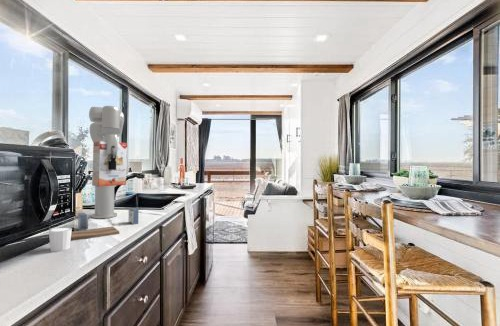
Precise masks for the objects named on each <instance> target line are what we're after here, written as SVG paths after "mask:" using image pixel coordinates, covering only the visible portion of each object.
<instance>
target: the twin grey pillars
mask: <svg viewBox="0 0 500 326" xmlns="http://www.w3.org/2000/svg"><path fill="white" fill-rule="evenodd" d="M77 216H78V219H77V221H78V222H77V223H78V227H77V228H78V231H81V230H89V215H88V214H87V213H86V212H79V213H78V215H77ZM128 222H129V223H130V224H132V225H138V224H139V209H137V208H135V207H131V208H129V209H128Z"/></svg>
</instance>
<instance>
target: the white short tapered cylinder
mask: <svg viewBox="0 0 500 326" xmlns="http://www.w3.org/2000/svg"><path fill="white" fill-rule="evenodd" d="M72 230H73V228H71V227H57V228H52V229H49V230H48V238H49V239H48V240H49V247H50V251H51V252H52V253H53V252H55V253H56V252H57V253H58V252H63V251H68V250H69V249H70V247H71V241H70V240H71V232H73V231H72Z"/></svg>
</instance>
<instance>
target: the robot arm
mask: <svg viewBox="0 0 500 326" xmlns="http://www.w3.org/2000/svg"><path fill="white" fill-rule="evenodd" d="M88 118H89V121H90V122H91V124H90V126H89V135H90V138H91V141H92V143H93V142H94V141H104V142H107V146H106V150H107V151H106V155H108V154H109V166H108V169H109V170H116V155H117V153H118V137H121V136H122V134H123V129H124V124H125V123H124V122H125V114H124V112H123V111H122V110H120V108H119V107H117V106H113V105H103V107H101V106H91V107H90V109H89V112H88ZM111 150H112V151H111ZM110 152H111V153H112V155H111V154H110ZM128 173H129V163H128V161H127V166H126V176H127V175H128ZM117 216H118V213H117V212H115V185H114V186H100V187H98V186H94V213H93V214H91V218H92V219H110V218H111V219H112V218H115V217H117Z"/></svg>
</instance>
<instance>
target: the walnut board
mask: <svg viewBox="0 0 500 326" xmlns="http://www.w3.org/2000/svg"><path fill="white" fill-rule="evenodd" d="M111 235H113V236H114V235H120V231H119V230H118V229H117V228H116V227H114V226H106V227H98V228H97V227H96V228H91V229H89V228H88V229H87V230H81V231H80V230H75V231H72V232H71V240H70V242H72V241H79V240H85V239H92V238H93V239H94V238H99V237H105V236H111Z"/></svg>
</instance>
